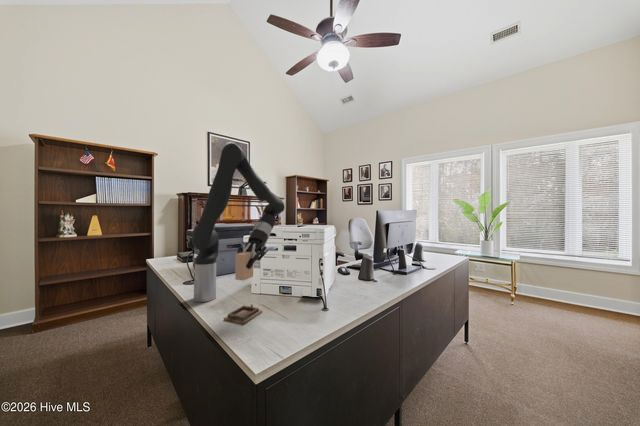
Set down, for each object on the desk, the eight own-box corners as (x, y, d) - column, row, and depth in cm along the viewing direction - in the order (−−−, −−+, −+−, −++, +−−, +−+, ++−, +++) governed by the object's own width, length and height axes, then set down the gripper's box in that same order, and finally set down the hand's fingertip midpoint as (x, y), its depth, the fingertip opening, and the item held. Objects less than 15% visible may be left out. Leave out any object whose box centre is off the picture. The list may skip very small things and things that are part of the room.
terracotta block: (235, 279, 94) (235, 254, 94) (245, 275, 100) (245, 251, 100) (243, 280, 93) (244, 254, 93) (253, 276, 98) (253, 252, 98)
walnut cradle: (223, 320, 92) (223, 313, 92) (243, 308, 103) (243, 302, 103) (244, 324, 89) (244, 317, 89) (262, 312, 100) (262, 305, 100)
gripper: (243, 228, 106) (223, 260, 95) (271, 229, 102) (254, 263, 90) (250, 238, 112) (232, 270, 100) (277, 240, 107) (262, 274, 95)
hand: (243, 267), depth 95 cm, fingers closed on terracotta block, 4 cm apart
